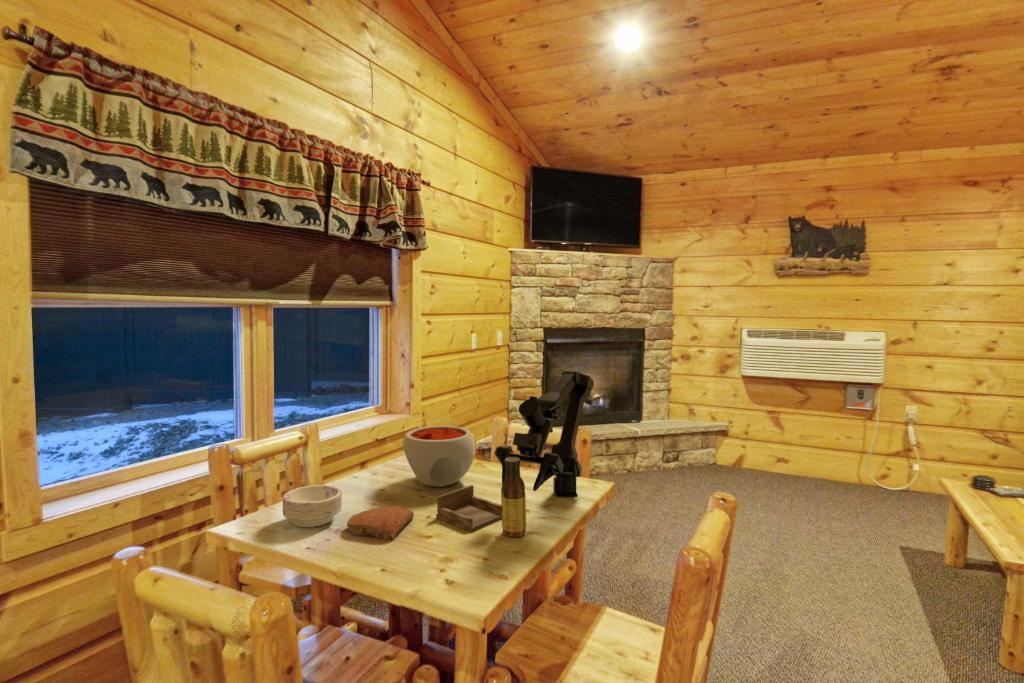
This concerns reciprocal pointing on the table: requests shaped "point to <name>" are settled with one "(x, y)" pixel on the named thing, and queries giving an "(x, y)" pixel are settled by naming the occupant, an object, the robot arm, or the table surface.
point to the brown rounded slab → (380, 522)
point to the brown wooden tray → (467, 509)
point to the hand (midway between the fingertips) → (518, 487)
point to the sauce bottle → (513, 500)
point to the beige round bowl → (312, 505)
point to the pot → (439, 454)
